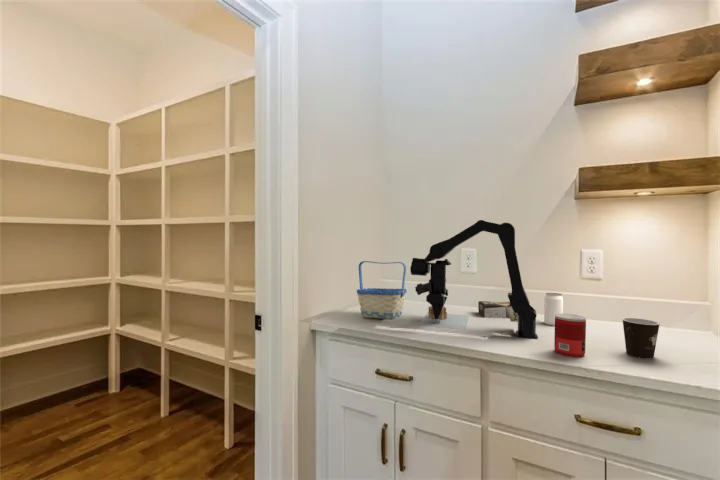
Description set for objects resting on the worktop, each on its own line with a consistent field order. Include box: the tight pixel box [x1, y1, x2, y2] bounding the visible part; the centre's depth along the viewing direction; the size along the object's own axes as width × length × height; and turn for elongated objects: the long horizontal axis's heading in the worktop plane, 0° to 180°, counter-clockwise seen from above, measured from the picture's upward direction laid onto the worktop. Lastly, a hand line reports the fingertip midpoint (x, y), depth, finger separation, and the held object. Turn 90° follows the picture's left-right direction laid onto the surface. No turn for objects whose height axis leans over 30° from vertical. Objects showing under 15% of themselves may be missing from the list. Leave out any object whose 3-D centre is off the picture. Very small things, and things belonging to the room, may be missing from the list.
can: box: [543, 292, 564, 327], centre depth 143 cm, size 6×6×12 cm
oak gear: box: [428, 305, 447, 320], centre depth 139 cm, size 6×6×4 cm
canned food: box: [553, 313, 587, 358], centre depth 107 cm, size 8×8×11 cm
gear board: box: [418, 311, 469, 330], centre depth 143 cm, size 24×17×4 cm
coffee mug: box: [622, 317, 660, 359], centre depth 106 cm, size 12×9×10 cm
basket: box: [356, 260, 407, 320], centre depth 151 cm, size 21×16×24 cm
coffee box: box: [477, 300, 518, 322], centre depth 152 cm, size 9×6×16 cm
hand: (437, 317), depth 139 cm, fingers closed on oak gear, 6 cm apart
